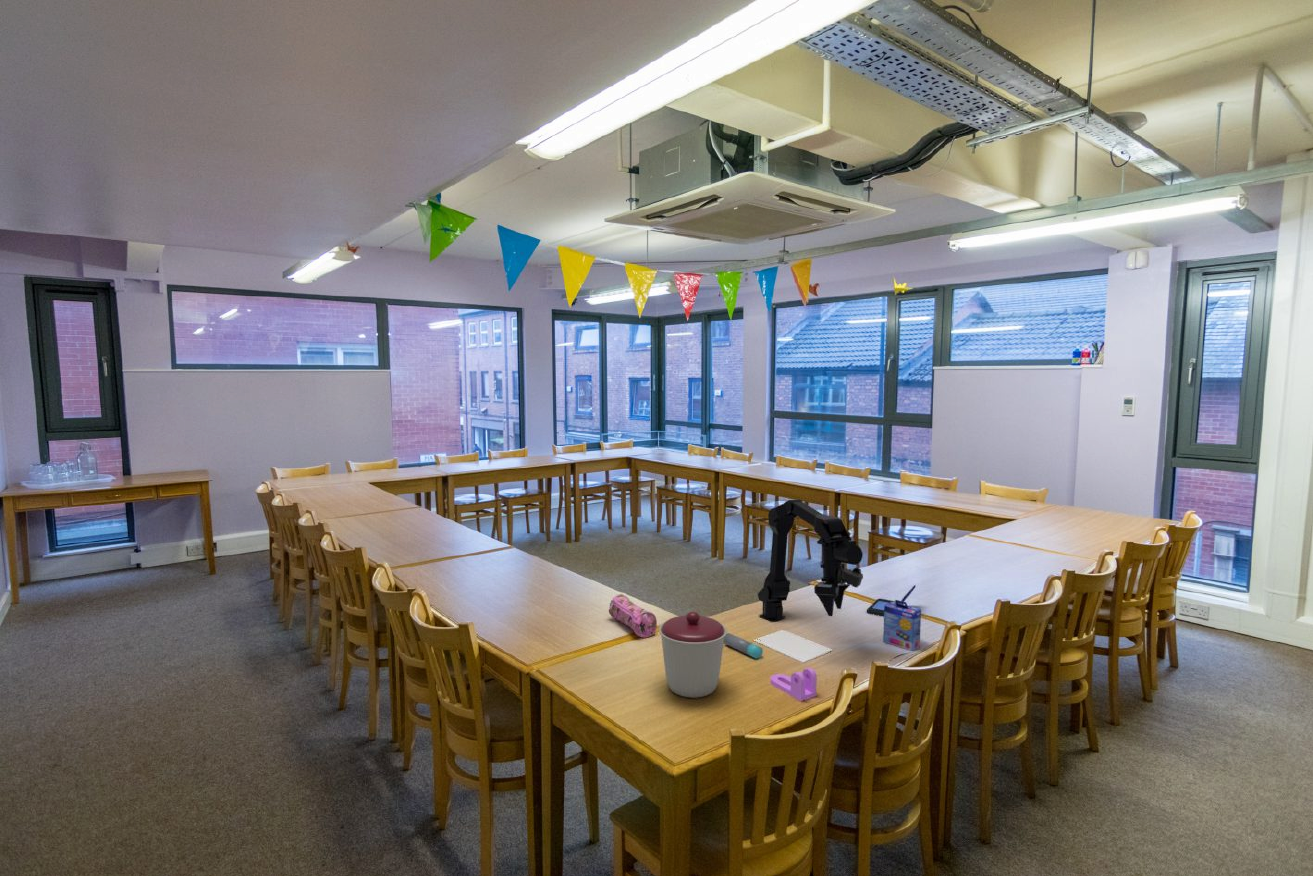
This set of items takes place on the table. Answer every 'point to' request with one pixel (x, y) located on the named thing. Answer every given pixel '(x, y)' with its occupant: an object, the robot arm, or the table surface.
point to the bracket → (797, 684)
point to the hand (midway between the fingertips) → (834, 612)
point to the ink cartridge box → (902, 625)
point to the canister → (692, 653)
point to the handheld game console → (879, 604)
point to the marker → (743, 645)
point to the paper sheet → (793, 646)
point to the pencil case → (633, 616)
